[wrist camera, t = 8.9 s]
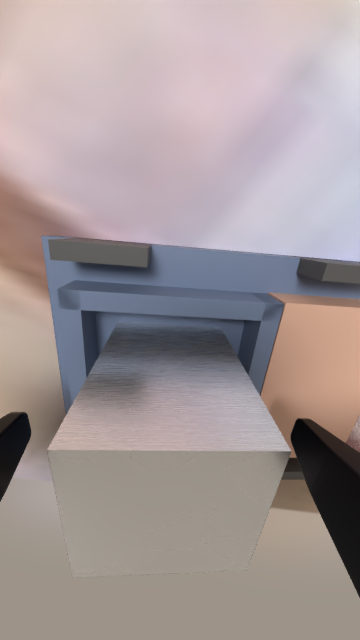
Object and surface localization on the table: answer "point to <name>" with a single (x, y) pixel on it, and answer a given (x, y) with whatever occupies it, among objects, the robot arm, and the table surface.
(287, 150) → the table surface
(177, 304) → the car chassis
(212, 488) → the grey rectangular block
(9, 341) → the table surface
